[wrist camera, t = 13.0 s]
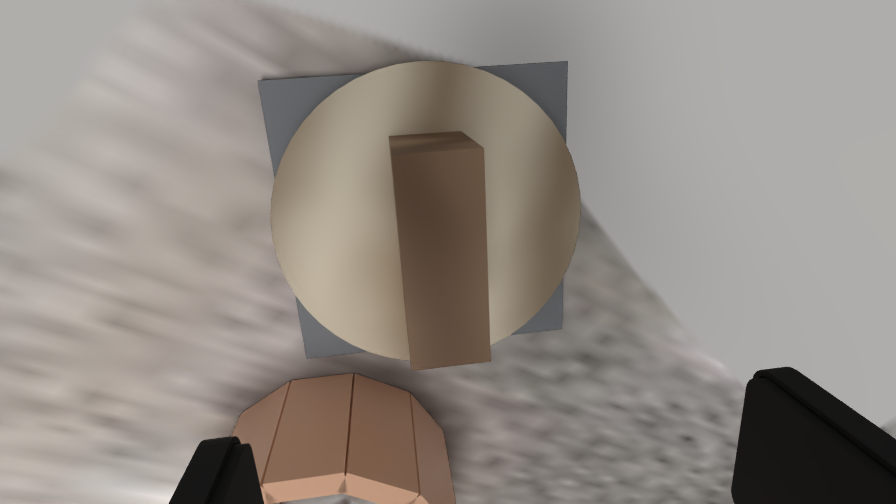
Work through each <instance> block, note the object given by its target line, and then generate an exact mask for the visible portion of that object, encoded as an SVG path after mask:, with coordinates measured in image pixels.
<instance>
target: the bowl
mask: <svg viewBox="0 0 896 504" xmlns="http://www.w3.org/2000/svg"><path fill="white" fill-rule="evenodd" d="M232 436H236V437H238V438H239V439H240V442H241V444H245V443H249V444H250V445H251V448H252V451H253V456H254V460H255V464H256V469H257V473H258V478H259V482H260V487H261V491H262V496H263V500H264V504H272V503H279V502H286V501H293V500H300V499H307V498H314V497H321V496H328V495H335V494H346V495H350V496H353V497H357V498H360V499H364V500H367V501H371V502H375V503H378V504H456V499H455V494H454V488H453V483H452V477H451V471H450V466H449V460H448V454H447V449H446V443H445V438H444V432H443V430H442V429H441V428H440V427H439V425H438V424H437V423H436V422H435V421H434V420H433V418H432V417H431V416H430V415H429V414H428V412H427V411H426V410H425V409H424V408H423V407H422V405H421V404H420V403H419V402H418V401H417V400H416V398H415V397H414V396H413V395H412V394H411V393H410V394H409V392H408V391H405V390H402V389H399V388H396V387H393V386H390V385H388V384H385V383H382V382H379V381H376V380H373V379H370V378H367V377H364V376H362V375H359V374H356V373H355V374H354V376H353V373H349V374H341V375H332V376H324V377H316V378H307V379H299V380H292V381H291V382H290V381H289V382H288V383H286V384H285V385H283V386H282V387H280V388H279V389H277V390H276V391H274V392H273V393H271V394H270V395H268V396H266V397H265V398H263V399H262V400H260V401H259V402H257V403H256V404H254V405H253V406H251V407H250V408H248V409H247V410H245V411H244V412H242V413H241V415H240V416H239V419H238V421H237V423H236V425H235V428H234V430H233V432H232V434H231V437H232Z"/></svg>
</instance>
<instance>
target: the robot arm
mask: <svg viewBox="0 0 896 504" xmlns="http://www.w3.org/2000/svg"><path fill="white" fill-rule="evenodd" d="M731 493H732V498H733V501H734V503H735V504H896V439H895V438H893V437H892V436H890V435H889V434H888V433H886V432H885V431H883V430H882V429H880V428H879V427H877V426H876V425H875V424H873V423H872V422H870V421H869V420H867V419H866V418H865V417H863V416H861V415H860V414H859V413H857V412H856V411H854V410H853V409H852V408H850V407H849V406H847V405H846V404H844V403H843V402H842V401H840V400H839V399H837V398H836V397H834V396H833V395H831V394H830V393H829V392H827V391H826V390H824V389H823V388H821V387H820V386H819V385H817V384H816V383H814V382H813V381H811V380H810V379H809V378H807V377H806V376H804V375H803V374H801V373H800V372H798V371H797V370H795V369H793V368H791V367H781V368H773V369H765V370H759V371H757V372H756V373H755V374H754V376H753V379H751V380H749V382H748V383H747V386H746V392H745V399H744V406H743V413H742V420H741V426H740V433H739V440H738V447H737V453H736V460H735V467H734V474H733V481H732V487H731ZM169 504H264V500H263V496H262V491H261V487H260V482H259V478H258V473H257V469H256V464H255V460H254V456H253V451H252V448H251V445H250V444H249V443H245V444H241V442H240V439H239V438H238V437H236V436H232V437H224V438H216V439H208V440H203V441H201V442H200V444H199V445H198V447H197V449H196V451H195V453H194V455H193V457H192V459H191V461H190V463H189V465H188V467H187V469H186V471H185V473H184V475H183V476H182V478H181V480H180V482H179V484H178V486H177V488H176V490H175V492H174V494H173V496H172V498H171V500H170V502H169Z"/></svg>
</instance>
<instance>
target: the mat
mask: <svg viewBox="0 0 896 504" xmlns="http://www.w3.org/2000/svg"><path fill="white" fill-rule="evenodd" d="M474 68H477V69H480V70H484V71H486V72H488V73H491V74H493V75H495V76H497V77H499V78H501V79H504V80H506V81H507V82H509V83H510V84H512V85H513V86H515V87H516V88H518V89H519V90H521V91H522V92H524V93H525V94H526V95H527V96H528V97H529V98H531V99H532V100H533V101H534V102H535V103H536V104H537V105H539V107H540V108H541V109H542V110H543V111H544V112H545V113H546V115H547V116H548V117H549V118H550V119H551V120H552V122H553V123H554V125H555V126H556V128H557V130H558V131H559V133H560V134H561V136H562V137H563V139H564V141H565V143H566V121H567V120H566V118H567V72H568V61H563V62H562V61H561V62H546V63H531V64H515V65H498V66H482V67H474ZM363 75H365V74H355V75H339V76H323V77H307V78H291V79H275V80H260V81H258V86H259V92H260V98H261V103H262V109H263V115H264V120H265V126H266V132H267V137H268V143H269V149H270V154H271V160H272V166H273V171H274V177H276V174H277V171H278V168H279V165H280V162H281V159H282V157H283V155H284V153H285V151H286V149H287V147H288V144H289V142H290V140H291V139H292V137H293V136H294V134H295V133H296V131H297V130H298V128H299V127H300V126H301V124H302V123H303V121H304V120H305V119H306V118H307V117H308V116H309V115H310V114H311V112H312V111H313V110H314V109H315V108H316V107H317V106H318V105H319V104H320V103H321V102H323V101H324V100H325V99H326V98H327V97H329V96H330V95H331V94H332V93H333V92H335V91H336V90H338V89H339V88H341V87H343V86H344V85H346V84H347V83H349V82H351V81H352V80H354V79H356V78H358V77H361V76H363ZM295 296H296V295H295ZM296 302H297V307H298V313H299V319H300V324H301V330H302V336H303V341H304V347H305V353H306V358H307V359H308V358H317V357H325V356H334V355H343V354H351V353H360V352H368V351H366V350H363V349H361V348H359V347H356V346H354V345H352V344H350V343H348V342H346V341H345V340H343V339H341V338H340V337H338V336H336V335H335V334H333V333H332V332H331V331H329V330H328V329H327V328H326V327H324V326H323V325H322V324H320V323H319V322H318V321H317V320H316V319H315V318H314V317H313V316H312V315H311V314H310V313H309V312H308V311H307V310H306V308H305V307H304V306H303V305H302V303H301V302H300V301H299V299H298V298H297V297H296ZM562 320H563V278H562V280H561V282H560V284H559V285H558V287H557V288H556V290H555V291H554V293H553V294H552V296H551V297H550V299H549V300H548V301H547V302H546V303H545V304H544V305H543V307H542V308H541V309H540V310H539V311H538V312H537V313H536V314H535V315H534V316H533V317H532V318H531V319H530V320H529V321H528V322H527V323H525V324H524V325H523V326H522V327H520V328H519V329H518V330H516V331H515V332H513V333H512V334H511V335H515V334H523V333H532V332H540V331H549V330H558V329H562Z"/></svg>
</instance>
